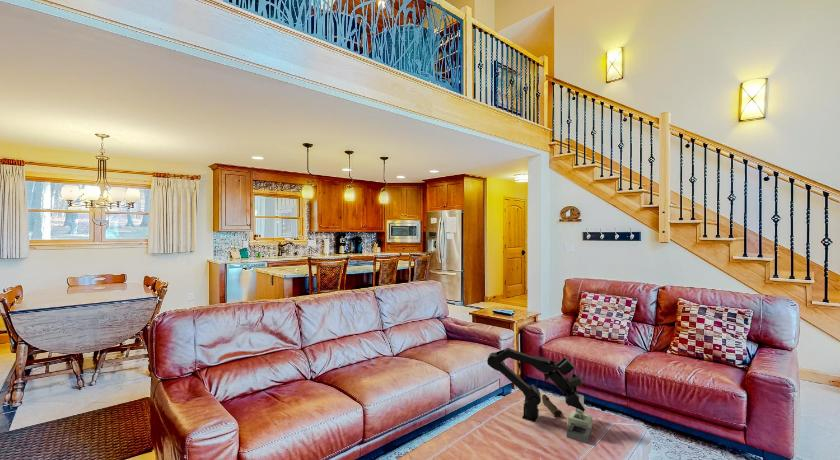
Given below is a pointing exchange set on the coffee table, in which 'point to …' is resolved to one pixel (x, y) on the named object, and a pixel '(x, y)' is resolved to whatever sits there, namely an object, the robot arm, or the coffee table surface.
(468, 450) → the coffee table surface
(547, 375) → the robot arm
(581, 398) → the grey cylinder
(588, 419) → the container
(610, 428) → the coffee table surface
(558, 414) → the hand tool
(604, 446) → the coffee table surface
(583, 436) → the socket
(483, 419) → the coffee table surface
